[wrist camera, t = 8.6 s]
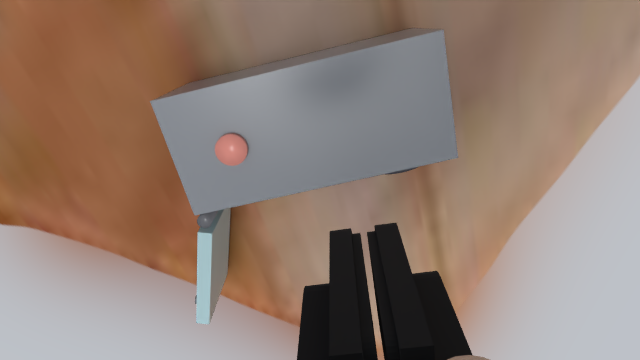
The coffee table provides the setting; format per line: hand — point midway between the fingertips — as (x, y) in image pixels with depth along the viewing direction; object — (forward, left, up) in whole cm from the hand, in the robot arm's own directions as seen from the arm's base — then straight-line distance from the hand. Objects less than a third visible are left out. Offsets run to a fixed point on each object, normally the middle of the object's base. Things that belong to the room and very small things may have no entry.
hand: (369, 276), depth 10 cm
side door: (+12, +9, -23) cm, 28 cm away
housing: (+2, 0, -24) cm, 24 cm away
